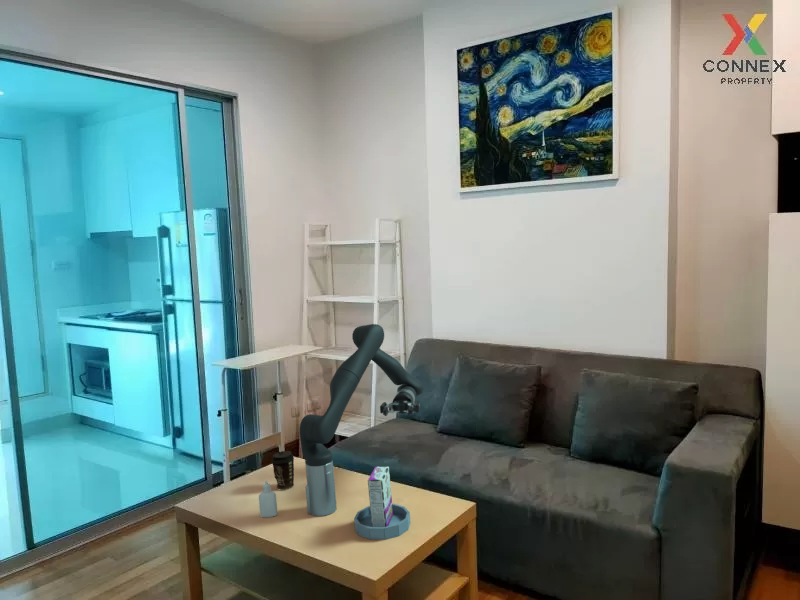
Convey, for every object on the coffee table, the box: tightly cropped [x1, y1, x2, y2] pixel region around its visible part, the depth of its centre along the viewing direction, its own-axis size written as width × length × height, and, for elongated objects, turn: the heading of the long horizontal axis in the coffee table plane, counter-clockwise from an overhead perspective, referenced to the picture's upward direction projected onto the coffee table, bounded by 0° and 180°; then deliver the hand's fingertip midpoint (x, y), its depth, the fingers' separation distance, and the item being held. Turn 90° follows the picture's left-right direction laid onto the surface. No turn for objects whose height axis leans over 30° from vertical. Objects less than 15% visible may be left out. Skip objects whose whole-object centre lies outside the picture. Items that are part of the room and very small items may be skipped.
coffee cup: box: [270, 450, 295, 491], centre depth 223 cm, size 9×8×13 cm
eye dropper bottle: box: [258, 480, 278, 518], centre depth 199 cm, size 4×6×12 cm
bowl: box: [353, 503, 411, 540], centre depth 186 cm, size 17×17×4 cm
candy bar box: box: [367, 466, 393, 527], centre depth 186 cm, size 11×5×16 cm, turn 170°
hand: (397, 413), depth 206 cm, fingers open, 8 cm apart
